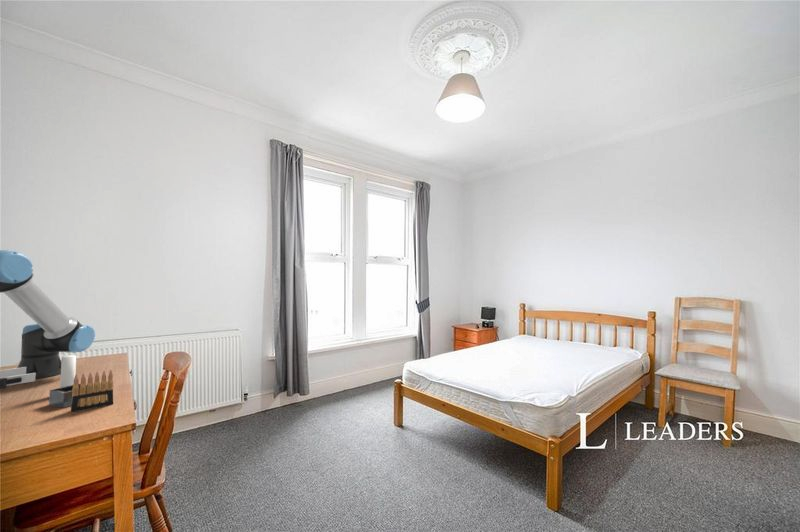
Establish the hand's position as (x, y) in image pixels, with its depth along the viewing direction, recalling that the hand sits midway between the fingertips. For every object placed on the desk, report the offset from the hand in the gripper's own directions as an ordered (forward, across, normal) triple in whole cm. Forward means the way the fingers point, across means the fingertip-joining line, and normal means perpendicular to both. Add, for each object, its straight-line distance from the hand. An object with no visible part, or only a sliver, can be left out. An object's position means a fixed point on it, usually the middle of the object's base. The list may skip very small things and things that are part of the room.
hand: (30, 373), depth 121 cm
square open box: (+8, +13, -10) cm, 18 cm away
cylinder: (+10, 0, -10) cm, 14 cm away
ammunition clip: (+11, +24, -10) cm, 28 cm away
